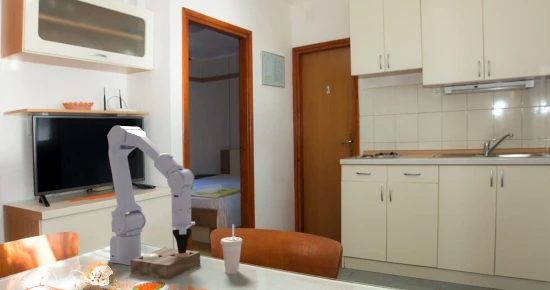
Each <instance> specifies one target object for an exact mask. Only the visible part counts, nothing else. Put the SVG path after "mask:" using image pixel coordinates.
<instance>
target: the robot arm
mask: <svg viewBox="0 0 550 290" xmlns="http://www.w3.org/2000/svg"><path fill="white" fill-rule="evenodd" d="M107 141H108V158H109V164H110V170H111V174H112V182H113V187H114V192H115V198H116V205H117V206H116V208H114V210H113V211H112V213H111V215H112V221H111V229H112V231H113V232H114V234H113V235H112V236H111V238H110V241H109V259H108V260H107V262H108V263H114V264H120V265H126V266H131V260H132V259H135V258H138V257H140V256H142V232H143V228H144V227H145V226H146V221H147V220H146V215H145V214H144V212H143V210H142V207H141V205H139V204H138V203H136V199H135V193H134V189H133V184H132V183H133V182H132V177H131V171H130V165H129V160H128V156H129V154H130V153H131V152H133V150H135V149H136V148H138V149H139V150H140V151H142V152H143V153H144V154H145V155H146V156H148V157H149V158H150V160H152V161H154V162H153V167H154V168H155V169H156V170H157V171H158V172H159V173H160V174H161V175H162V176H164V177H165V178H166V179H167V185H168V187H169V188H170V194H171V220H172V223H171V228H174V229H172V235H173V236H174V239H175V243H176V247H177V248H176V249H178V252H179V254H180V253H186V250H188V242H189V238H190V236H191V234H192V228H191V227H192V226H195V225H196V222H195V221H192V186H193V185H194V184H195V183H194V182H195V175H194V172H192V170H191V169H189V168H184V165H182V164H179V163H178V162H177V160H176V159H174V156H173V155H172V154H171V153H170V154H169V153H167V152H166V153H165V152H164V153H163V152H162V151H160V149H159V148H158V147H157V146H156V145H155V144H154V143H153V142H152V141H151V139H150V138H149V137H148V136H147V134H146V132H145V131H143V129H142V128H141V127H139V126H121V125H114V126H112V128H110V130H109V132H108V134H107Z"/></svg>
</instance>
